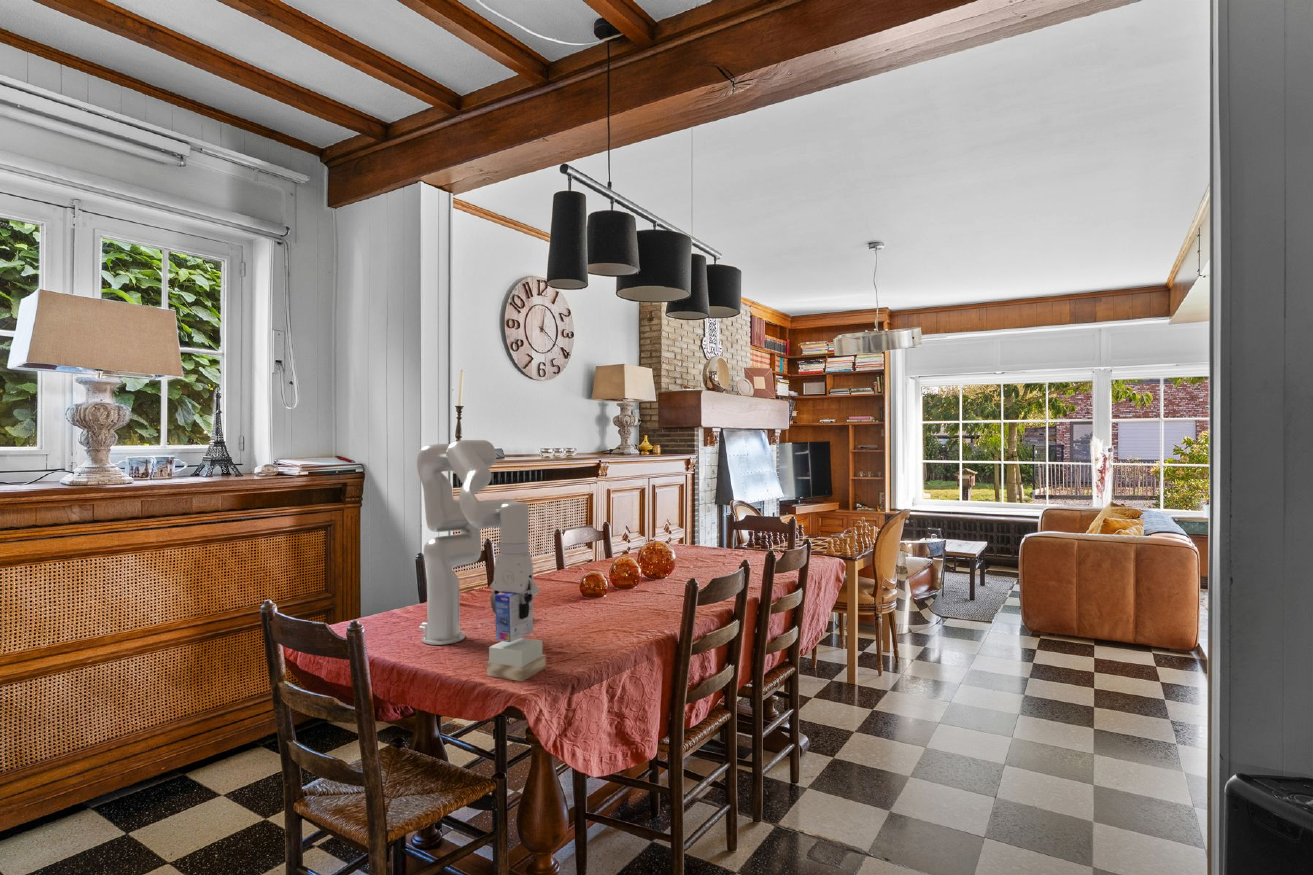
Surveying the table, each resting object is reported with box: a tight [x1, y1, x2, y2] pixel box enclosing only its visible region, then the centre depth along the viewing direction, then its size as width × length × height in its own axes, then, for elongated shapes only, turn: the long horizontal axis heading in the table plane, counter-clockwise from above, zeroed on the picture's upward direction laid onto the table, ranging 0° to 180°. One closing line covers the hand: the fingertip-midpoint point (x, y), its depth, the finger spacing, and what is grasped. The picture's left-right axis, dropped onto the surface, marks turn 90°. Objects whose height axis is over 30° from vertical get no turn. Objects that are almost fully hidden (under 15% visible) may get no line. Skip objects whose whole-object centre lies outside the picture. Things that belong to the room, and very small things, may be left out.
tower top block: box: [488, 637, 543, 667], centre depth 185 cm, size 10×10×4 cm
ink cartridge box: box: [495, 590, 534, 642], centre depth 186 cm, size 10×6×14 cm, turn 153°
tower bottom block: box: [486, 654, 546, 682], centre depth 186 cm, size 11×11×4 cm
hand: (514, 615), depth 186 cm, fingers closed on ink cartridge box, 5 cm apart
